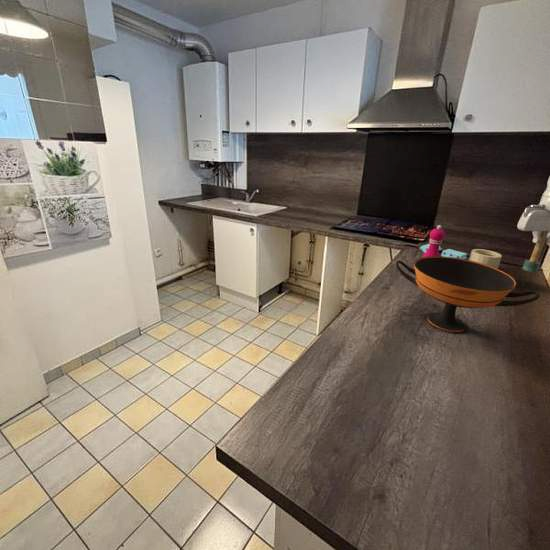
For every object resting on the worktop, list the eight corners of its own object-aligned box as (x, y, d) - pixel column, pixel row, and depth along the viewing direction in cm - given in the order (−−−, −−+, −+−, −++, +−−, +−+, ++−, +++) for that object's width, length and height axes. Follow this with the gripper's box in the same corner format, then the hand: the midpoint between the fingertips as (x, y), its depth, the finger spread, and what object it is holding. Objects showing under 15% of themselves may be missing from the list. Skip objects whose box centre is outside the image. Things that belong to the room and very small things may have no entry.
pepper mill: (437, 266, 136) (449, 225, 128) (436, 271, 130) (448, 228, 123) (421, 263, 140) (431, 222, 132) (419, 268, 134) (430, 225, 126)
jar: (481, 272, 132) (489, 249, 127) (499, 282, 122) (508, 257, 118) (459, 271, 131) (466, 248, 127) (474, 281, 122) (483, 257, 117)
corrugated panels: (427, 248, 163) (418, 251, 158) (428, 243, 162) (419, 245, 156) (497, 267, 138) (489, 271, 133) (499, 261, 137) (491, 265, 132)
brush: (530, 267, 115) (546, 228, 109) (540, 272, 111) (557, 231, 104) (519, 267, 115) (534, 228, 108) (529, 272, 111) (545, 231, 104)
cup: (375, 320, 91) (385, 268, 84) (397, 292, 110) (407, 247, 103) (519, 369, 72) (548, 307, 65) (515, 325, 91) (538, 273, 84)
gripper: (535, 206, 100) (520, 244, 105) (591, 206, 100) (574, 245, 106) (520, 203, 105) (507, 239, 111) (573, 203, 106) (558, 240, 112)
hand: (540, 242), depth 108 cm, fingers closed on brush, 2 cm apart
